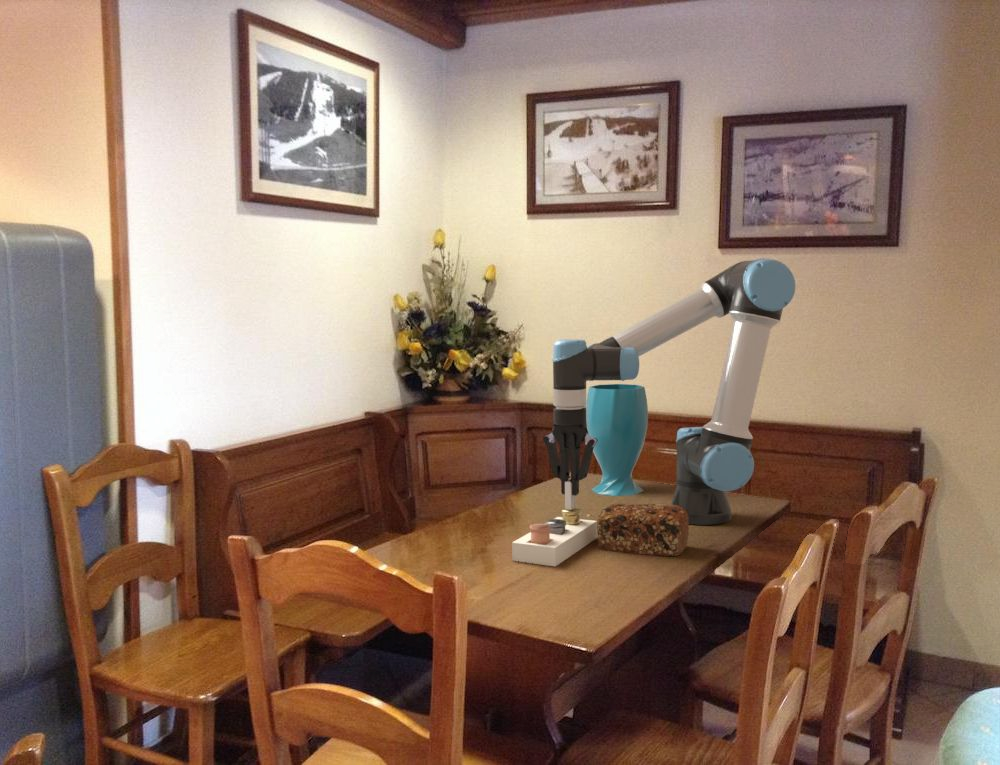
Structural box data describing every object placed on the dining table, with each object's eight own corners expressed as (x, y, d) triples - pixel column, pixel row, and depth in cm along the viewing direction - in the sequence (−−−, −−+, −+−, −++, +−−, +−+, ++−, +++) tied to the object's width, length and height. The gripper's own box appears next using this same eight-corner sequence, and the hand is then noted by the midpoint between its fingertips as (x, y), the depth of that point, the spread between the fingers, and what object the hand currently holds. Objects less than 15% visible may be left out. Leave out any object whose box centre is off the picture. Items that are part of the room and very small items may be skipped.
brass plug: (583, 532, 206) (583, 508, 205) (576, 537, 202) (576, 512, 201) (566, 530, 208) (566, 506, 207) (558, 535, 204) (558, 510, 203)
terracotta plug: (554, 551, 191) (553, 524, 190) (545, 556, 187) (545, 529, 186) (535, 548, 193) (535, 522, 192) (526, 554, 189) (526, 527, 188)
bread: (690, 546, 198) (690, 502, 197) (678, 559, 188) (678, 513, 187) (610, 538, 206) (610, 496, 205) (595, 550, 196) (594, 506, 195)
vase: (632, 499, 243) (631, 391, 241) (576, 492, 253) (575, 388, 250) (657, 487, 258) (656, 385, 255) (603, 481, 267) (602, 382, 264)
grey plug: (569, 545, 198) (569, 520, 198) (561, 550, 194) (561, 524, 194) (551, 543, 200) (551, 518, 200) (543, 548, 196) (543, 522, 196)
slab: (597, 537, 206) (596, 520, 205) (555, 566, 184) (555, 547, 184) (557, 533, 210) (557, 516, 210) (512, 560, 189) (512, 542, 189)
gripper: (602, 406, 202) (602, 507, 204) (550, 404, 208) (551, 502, 210) (590, 410, 196) (590, 515, 198) (536, 407, 202) (537, 509, 204)
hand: (570, 508), depth 204 cm, fingers closed
